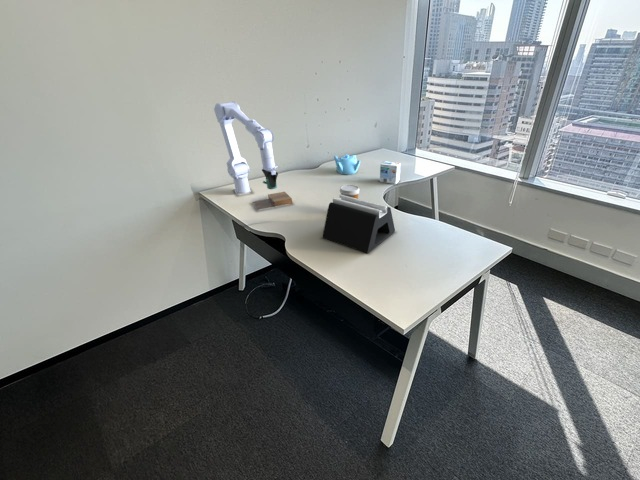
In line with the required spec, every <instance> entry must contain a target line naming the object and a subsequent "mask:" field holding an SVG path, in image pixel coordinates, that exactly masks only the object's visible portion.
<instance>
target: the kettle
mask: <svg viewBox="0 0 640 480" xmlns="http://www.w3.org/2000/svg"><path fill="white" fill-rule="evenodd" d="M262 184H265V185H266V188H267V190H275V189H277V188H278V183H277V182H276V187H271V185H270V182H269V179H268V177H267V178H266V177H265V180H262Z"/></svg>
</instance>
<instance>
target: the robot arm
mask: <svg viewBox="0 0 640 480" xmlns="http://www.w3.org/2000/svg"><path fill="white" fill-rule="evenodd" d="M213 111H214V114H215V117H216V120H217V123H219V126H220V129H221V132H222V136H223V139H224V143H225V146H226V149H227V152H228V156H229V159H228V160H227V162H226V167H227V173H228V175H229V177H231V178H232V179H233V185H234V189H233V191H234V193H235V194H236V195H240V194H242V195H243V194H248V193H251V192H252V190H251V188H250V184H249V178H248V176H249V173H250V166H249V164H248V163H247V159H246V158H244V157H243V156H241V152H240V149H239V147H238V142H237V138H236V136H235V132H234V128H233V126H232V123H233V122H234V121H235V119H236V121H239V122H240V123H241V124H243V125H244V127H245V130H246V131H247V132H248V133H250V134H251V135H252V137H254V139H255V141H256V144H257V147H258V148H259V153H260V159H261V164H262V169H261V171H262V173H263V175H264V177H265V179H266V178H267V177H268V179H269V182H270V185H271V187H276V183H277V177H278V175H279V172H277V171H276V168H278V165H277V164H276V163H275V157H274V151H273V142H274V134H273V131H272V130H270V128H265V127H263V126H262V125H261V124H260V123H258V122H257V120H256V119H253V118H252V119H250V118H249V117H248V116H247V115H246V114H245V113H244V112H243V111H242V110H241V106H240V105H239V104H238V103H237V102H236V101H229V102H220V103H216V104H215V105H214V107H213Z"/></svg>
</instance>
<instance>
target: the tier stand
mask: <svg viewBox="0 0 640 480" xmlns="http://www.w3.org/2000/svg"><path fill="white" fill-rule="evenodd" d="M251 204H252V205H253V207H254V208H255V210H257V211H258V210H264V209H269V208H274V207H280V206H284V205H290V204H293V198H292V197H291V196H290V195H289V194H288V193H287V192H286V191H279V192H273V193H268V194H267V199H260V200H256V201H255V200H254V201H251Z"/></svg>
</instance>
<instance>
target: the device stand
mask: <svg viewBox="0 0 640 480" xmlns="http://www.w3.org/2000/svg"><path fill="white" fill-rule="evenodd" d="M338 196H339V198H336V197H333V198H332V202H329V204H328V207H327V213H326V217H325V222H324V226H323V231H322V239H326V240H328V241H330V242H334V243H337V244H340V245H342V246H346V247H349V248H352V249H355V250H357V251H361V252H364V253H365V254H370V253H371V252H372V251H373V250H374V249H376V248H377V247H378V246H380V245H381V244H382V243H383V242H384V241H385V240H387V239H388V238H389V237H391V236H393V234H394V233H395V231H396V228H395V223H394V217H393V213H392V209H391V207H390V206H386V205H382V204H378V203H375V202H371V201H367V200H363V199H359V198H358V199H356V198H352V197H348V196H344V195H341V194H339V195H338Z"/></svg>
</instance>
